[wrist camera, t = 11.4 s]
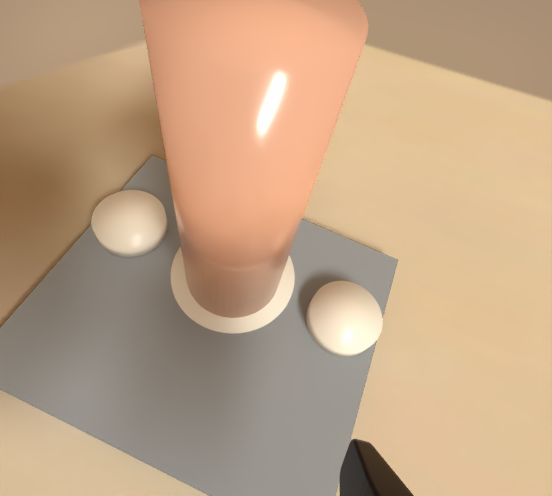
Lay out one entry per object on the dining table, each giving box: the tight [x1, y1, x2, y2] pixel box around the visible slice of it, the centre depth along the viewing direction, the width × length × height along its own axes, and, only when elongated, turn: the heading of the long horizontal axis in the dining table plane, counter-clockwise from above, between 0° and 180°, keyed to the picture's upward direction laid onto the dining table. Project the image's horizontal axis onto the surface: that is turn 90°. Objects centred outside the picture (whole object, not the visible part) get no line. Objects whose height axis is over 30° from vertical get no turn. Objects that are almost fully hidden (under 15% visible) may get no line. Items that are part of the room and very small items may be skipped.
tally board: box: [0, 155, 398, 496], centre depth 18 cm, size 14×16×2 cm
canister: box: [139, 0, 368, 318], centre depth 13 cm, size 5×5×13 cm
